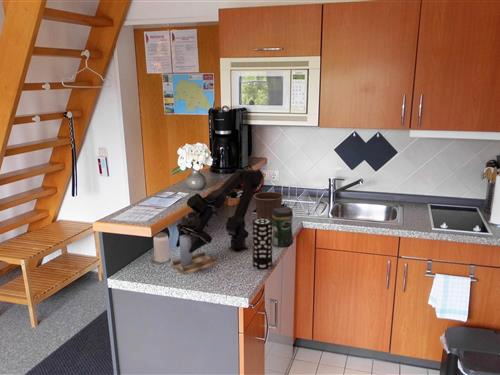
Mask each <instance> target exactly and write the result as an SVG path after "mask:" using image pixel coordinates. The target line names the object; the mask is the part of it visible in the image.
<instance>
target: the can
mask: <svg viewBox="0 0 500 375" xmlns="http://www.w3.org/2000/svg"><path fill="white" fill-rule="evenodd" d="M155 234H156V235H155ZM155 234H154V235H155V236H154V235H153V236H154V237H153V252H154V261H155V262H156V263H159V264H164V263H167V262H169V260H170V243H169V240H170V239H169V236H168V234H167V232H158V234H157V233H155Z"/></svg>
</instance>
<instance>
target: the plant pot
mask: <svg viewBox="0 0 500 375" xmlns="http://www.w3.org/2000/svg"><path fill="white" fill-rule="evenodd" d="M283 197H284V195H283V194H282V193H280V192H275V191H263V192H257V193H255V194H253V198H254V203H255V208H256V219H259V218H266V219H270V220H272V227H274V219H273V216H272V215H273V209H274V208H282V206H281V205H282V203H283V202H282V201H283Z"/></svg>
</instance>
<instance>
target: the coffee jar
mask: <svg viewBox="0 0 500 375" xmlns="http://www.w3.org/2000/svg"><path fill="white" fill-rule="evenodd" d="M293 214H294V213H293V209H292V207H290V206H284V207H282V206H281V208H274V209H273V215H272V216H273V219H274V226H273V230H272V245H274V247H277V248H279V247H280V248H282V247H283V248H284V247H288V246H292V245H293V243H294V237H293V229H292V228H293V225H292V222H293V217H294V215H293Z"/></svg>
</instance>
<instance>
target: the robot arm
mask: <svg viewBox="0 0 500 375" xmlns="http://www.w3.org/2000/svg"><path fill="white" fill-rule="evenodd" d="M263 176H264V175H263V173H262V171H261V170H258V169H254V168H253V169H252V168H248V169H247V170H245V169H239V168H238V169H235V171H234V173H233V174H232V175H231V176H230V177H229V178H228V179H227V180H226V181H225V182H224V183H222V185H221V186H220V187H218V188H215V189H214V190H212V191H210V192H209V193H207V195H205V196H202V195H201V194H200V193H197V192H196V193H195V194H194V195H191V196H190V197H189V198H187V201H186V205H187V206H188V208H190V210H192V211H193V212H195V214H196V216H192V217H187V216H183V215H182V218H181V221H180V222H178V223H177V225H176V226H175V227H176V229H177V232H178V236H177V241H176V245H175V247H176V248H180V238H179V237H180V236H181V235H194V241H193V243H192V244H191V248H190V250H189V253H192V254H193V253H194V252H195V251H196V250H198V249H200V248H202V247H204V246H205V245H208V244H211V242H212V240H213V237H212V236H211V235H210V234H209V233H208V232H207V231H205V228H208V227H209V225H210V224H209V222H210V221H211V219H212V217H213V216H214V217H218V210H217V209H220V208H222V207H223V205H224V204H225V203H226V200H227V197H228V196H229V195H230V193H231V192H232V191H233V190H234V189H235V188H236V187H237V186H238V185H239V184H241V182H242V181H243V186H244V187H243V189H242V192H241V195H240V198H239V201H238V203H237V206H236V209H235V211H234V214H233V215H232V216H228V218H227V221H226V222H225V229H226V232H227V234H228V236H231V237H230V246H229V247H228V248H229V249H230V250H233V251H234V252H236V253H237V252H242V251H244V250H247V249H248V246H246V244H247V243H246V239H247V238H248V237H249V235H250V234H249V231H247V230H246V229H245V228H246V221H245V217H246V215H247V212H248V209H249V206H250V203H251V200H252V197H253V196H254V191H255V190H256V189H257V188H258V187H259V186H260V184H261V182H262V180H263Z"/></svg>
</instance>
